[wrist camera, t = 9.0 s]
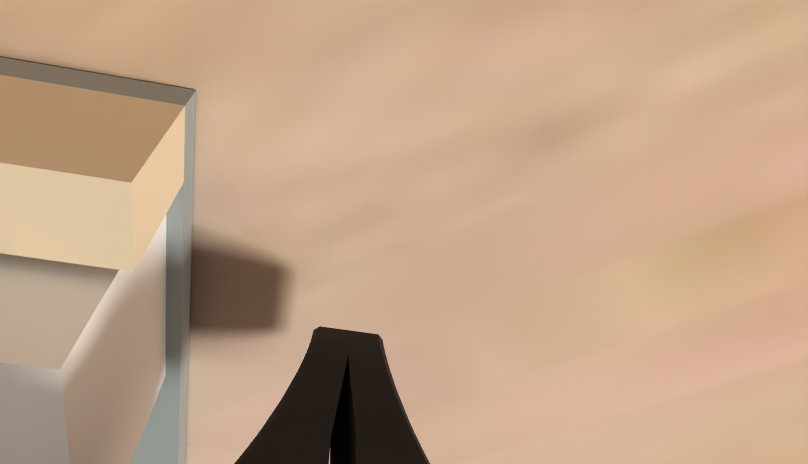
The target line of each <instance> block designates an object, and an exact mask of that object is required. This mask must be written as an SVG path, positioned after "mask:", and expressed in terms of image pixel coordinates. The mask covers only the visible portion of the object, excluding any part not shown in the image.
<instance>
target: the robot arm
mask: <svg viewBox="0 0 808 464" xmlns="http://www.w3.org/2000/svg"><path fill="white" fill-rule="evenodd" d="M329 452H330V464H430V463H429V461H428V459H427V457H426V455H425V453H424V451H423V449H422V447H421V445H420V443H419V441H418V439H417V437H416V435H415V433H414V431H413V428H412V426H411V424H410V422H409V420H408V417H407V415H406V412H405V410H404V407H403V405H402V402H401V400H400V397H399V395H398V392H397V389H396V387H395V384H394V381H393V378H392V375H391V372H390V369H389V365H388V362H387V358H386V354H385V350H384V346H383V340H382V339H381V337H380V336H379V335H378V334H371V333H363V332H356V331H349V330H341V329H334V328H327V327H318V328H317V329H315V330H314V331H313V335H312V339H311V342H310V345H309V348H308V350H307V353H306V355H305V357H304V359H303V361H302V363H301V365H300V367H299V370H298V372H297V373H296V375H295V377H294V379H293V380H292V382H291V384H290V386H289V387H288V389H287V391H286V393H285V394H284V396H283V398H282V399H281V401H280V402H279V404H278V405H277V407H276V408H275V410H274V411H273V413H272V414H271V416H270V417H269V419H268V420H267V422H266V423H265V425H264V426H263V428H262V429H261V430H260V432H259V433H258V434H257V436H256V437H255V438H254V440H253V441H252V442H251V444H250V445H249V446H248V448H247V449H246V450H245V451H244V453H243V454H242V455H241V456H240V457H239V459H238V460H237V461H236V462H235V463H234V464H329Z"/></svg>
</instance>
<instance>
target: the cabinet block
mask: <svg viewBox="0 0 808 464" xmlns="http://www.w3.org/2000/svg"><path fill="white" fill-rule="evenodd" d="M165 376H166V215H165V217H164V219H163V220H162V222H161V224H160V226H159V227H158V229H157V231H156V233H155V235H154V236H153V238H152V240H151V242H150V244H149V245H148V247H147V249H146V251H145V253H144V254H143V256H142V258H141V260H140V261H139V263H138V265H137V267H136V269H135V270H134V272H131V271H124V270H117V269H110V268H103V267H95V266H88V265H81V264H74V263H67V262H60V261H52V260H45V259H38V258H31V257H24V256H17V255H9V254H2V253H0V464H130V463H131V461H132V458H133V456H134V453H135V451H136V448H137V446H138V443H139V441H140V438H141V436H142V433H143V431H144V428H145V426H146V423H147V421H148V418H149V416H150V413H151V411H152V408H153V406H154V403H155V401H156V398H157V396H158V393H159V391H160V388H161V386H162V383H163V381H164V378H165Z"/></svg>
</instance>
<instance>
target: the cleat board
mask: <svg viewBox="0 0 808 464" xmlns="http://www.w3.org/2000/svg"><path fill="white" fill-rule="evenodd" d="M195 109H196V90H192V89H186V88H180V87H174V86H168V85H162V84H157V83H151V82H145V81H139V80H133V79H127V78H121V77H115V76H109V75H104V74H98V73H92V72H86V71H80V70H74V69H68V68H62V67H56V66H51V65H45V64H39V63H33V62H27V61H21V60H15V59H9V58H4V57H0V253H2V254H9V255H17V256H24V257H31V258H38V259H45V260H52V261H60V262H67V263H74V264H81V265H88V266H95V267H103V268H110V269H117V270H124V271H131V272H134V270H135V269H136V267H137V265H138V263H139V261H140V260H141V258H142V256H143V254H144V253H145V251H146V249H147V247H148V245H149V244H150V242H151V240H152V238H153V236H154V235H155V233H156V231H157V229H158V227H159V226H160V224H161V222H162V220H163V219H164V217H165V215H166V376H165V378H164V381H163V383H162V386H161V388H160V391H159V393H158V396H157V398H156V401H155V403H154V406H153V408H152V411H151V413H150V416H149V418H148V421H147V423H146V426H145V428H144V431H143V433H142V436H141V438H140V441H139V443H138V446H137V448H136V451H135V453H134V456H133V458H132V461H131V463H130V464H186V433H187V397H188V361H189V325H190V289H191V253H192V217H193V181H194V145H195Z"/></svg>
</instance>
